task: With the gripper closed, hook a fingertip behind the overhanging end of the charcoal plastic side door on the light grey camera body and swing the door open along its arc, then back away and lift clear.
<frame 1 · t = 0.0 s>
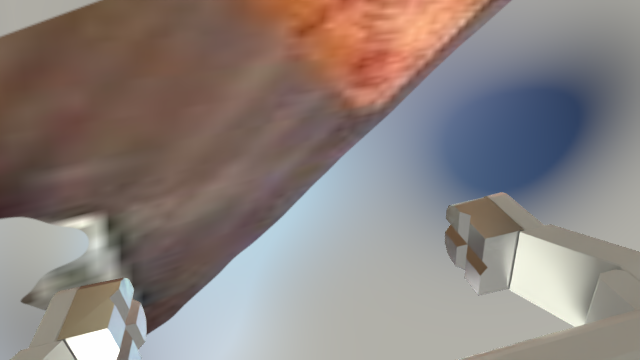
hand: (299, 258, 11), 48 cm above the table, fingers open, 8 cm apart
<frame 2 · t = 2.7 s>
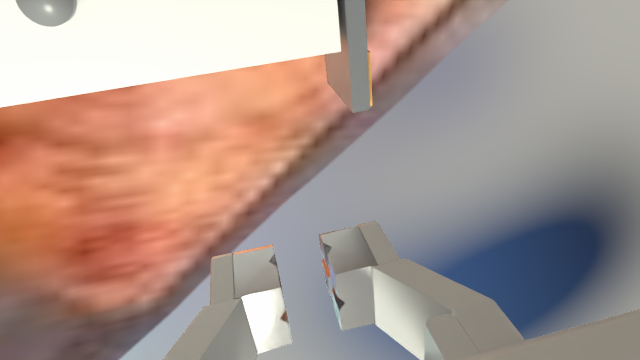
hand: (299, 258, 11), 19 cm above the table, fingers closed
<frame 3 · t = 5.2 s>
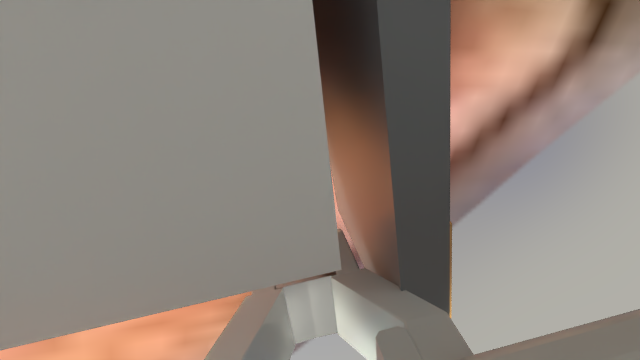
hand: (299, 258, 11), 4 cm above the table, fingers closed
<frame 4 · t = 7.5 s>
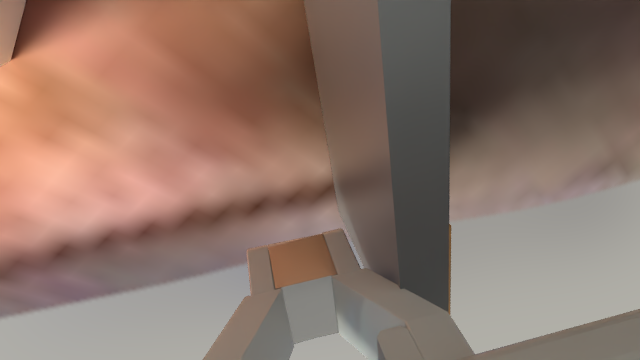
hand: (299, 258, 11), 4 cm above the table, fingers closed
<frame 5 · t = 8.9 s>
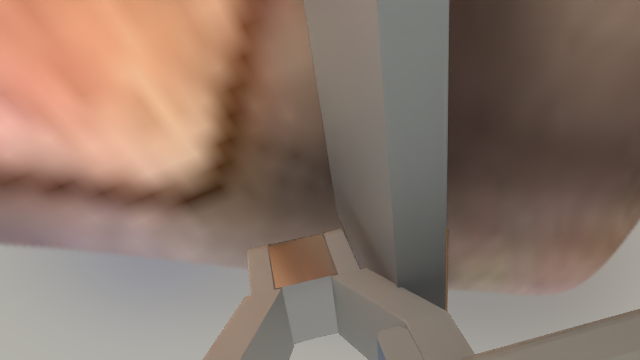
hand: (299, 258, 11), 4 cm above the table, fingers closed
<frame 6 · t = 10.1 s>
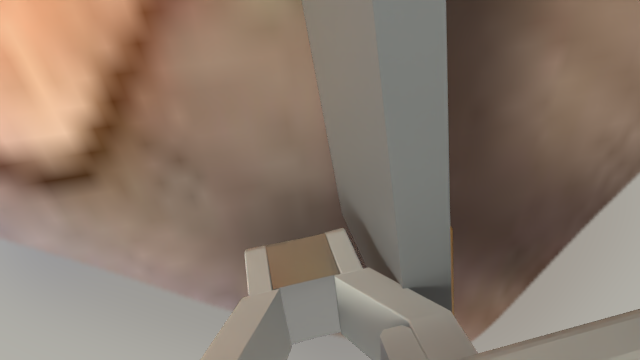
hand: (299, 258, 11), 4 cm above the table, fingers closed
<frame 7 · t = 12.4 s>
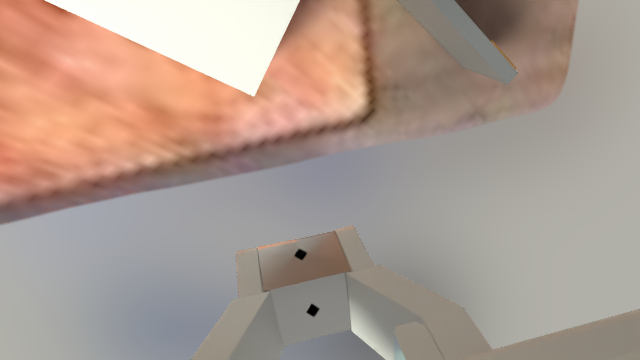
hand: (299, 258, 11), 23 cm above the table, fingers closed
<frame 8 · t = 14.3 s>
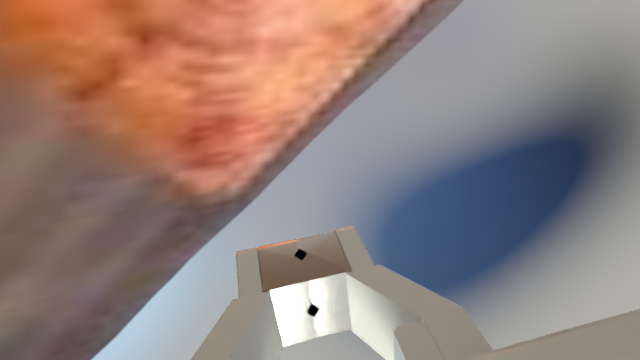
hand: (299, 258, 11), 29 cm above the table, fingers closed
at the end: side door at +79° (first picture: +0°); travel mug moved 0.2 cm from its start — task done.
